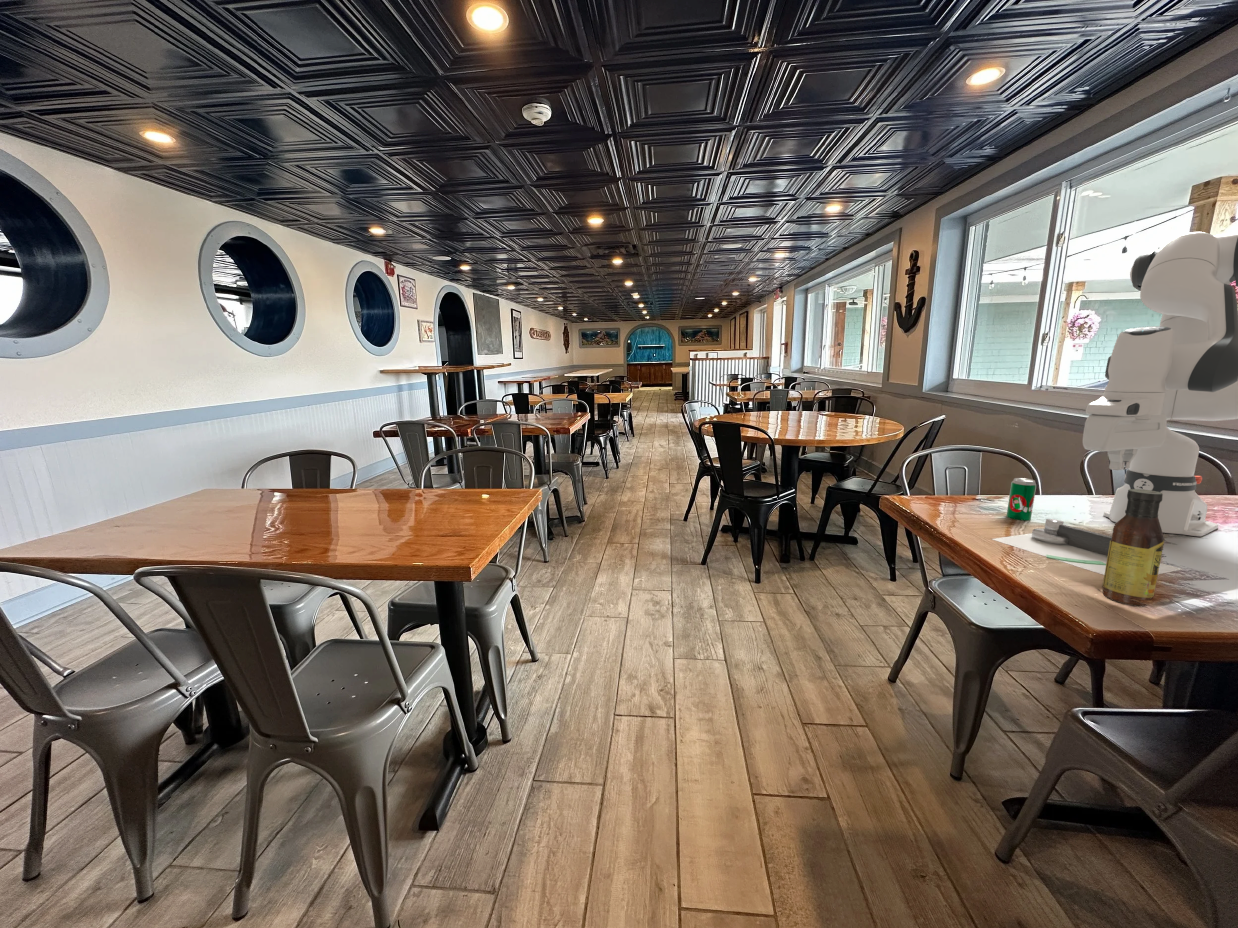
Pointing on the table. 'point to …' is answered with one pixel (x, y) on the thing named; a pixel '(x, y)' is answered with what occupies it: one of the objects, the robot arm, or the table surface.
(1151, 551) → the sauce bottle
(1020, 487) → the soda can
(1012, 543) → the board
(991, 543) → the table surface
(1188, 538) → the table surface
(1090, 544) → the grey black long piece
